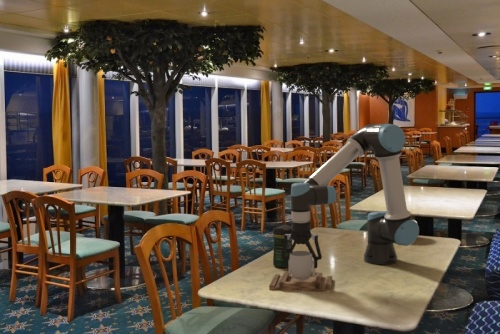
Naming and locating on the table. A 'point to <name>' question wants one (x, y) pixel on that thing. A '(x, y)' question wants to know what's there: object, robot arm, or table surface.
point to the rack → (301, 283)
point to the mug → (301, 264)
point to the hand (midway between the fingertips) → (301, 275)
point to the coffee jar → (281, 244)
